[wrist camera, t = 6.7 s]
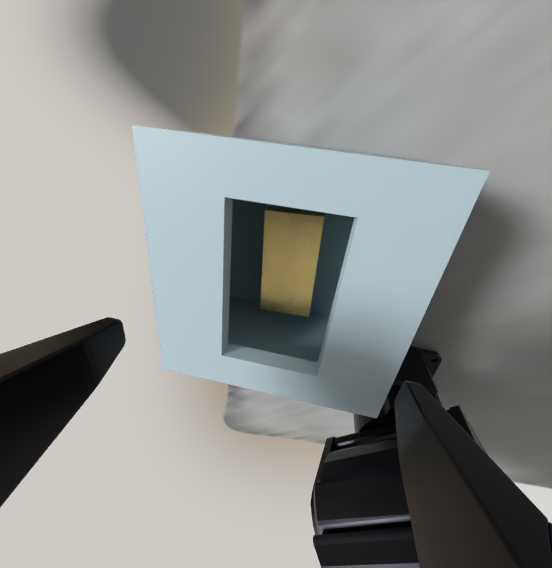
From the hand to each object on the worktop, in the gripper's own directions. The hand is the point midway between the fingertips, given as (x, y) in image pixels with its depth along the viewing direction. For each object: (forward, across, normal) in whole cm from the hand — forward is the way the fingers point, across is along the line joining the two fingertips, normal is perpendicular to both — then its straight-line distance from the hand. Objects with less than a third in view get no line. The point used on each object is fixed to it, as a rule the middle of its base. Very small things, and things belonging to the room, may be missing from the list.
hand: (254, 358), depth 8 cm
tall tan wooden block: (+11, 0, 0) cm, 11 cm away
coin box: (+12, 0, 0) cm, 12 cm away
